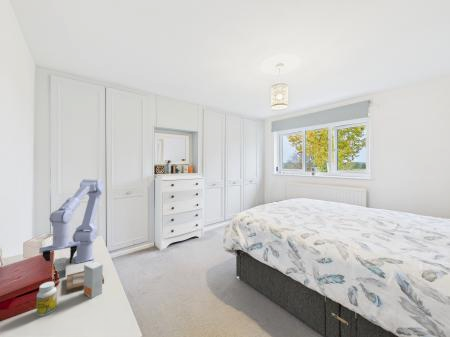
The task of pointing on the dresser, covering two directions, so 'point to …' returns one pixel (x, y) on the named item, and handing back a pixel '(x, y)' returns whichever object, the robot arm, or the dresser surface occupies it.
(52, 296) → the supplement bottle
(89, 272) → the skincare box
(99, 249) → the dresser surface
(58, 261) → the housing
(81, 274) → the walnut stand
